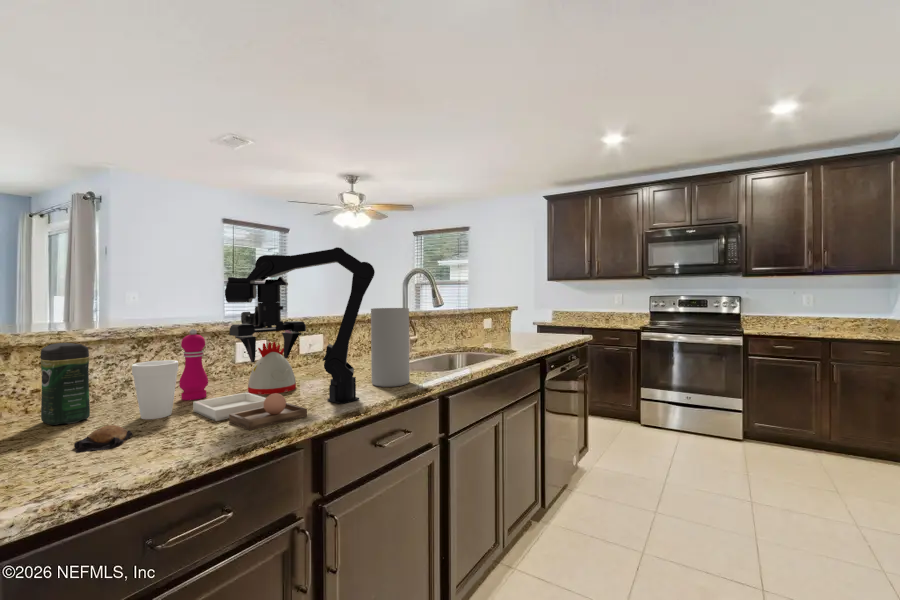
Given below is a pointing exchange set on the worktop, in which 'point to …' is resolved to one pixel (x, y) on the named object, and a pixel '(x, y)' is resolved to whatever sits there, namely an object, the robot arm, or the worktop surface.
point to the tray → (266, 417)
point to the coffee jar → (65, 383)
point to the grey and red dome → (271, 372)
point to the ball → (274, 404)
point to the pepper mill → (193, 368)
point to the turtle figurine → (103, 439)
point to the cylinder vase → (390, 346)
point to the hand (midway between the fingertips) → (269, 360)
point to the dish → (227, 405)
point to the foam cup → (155, 387)
